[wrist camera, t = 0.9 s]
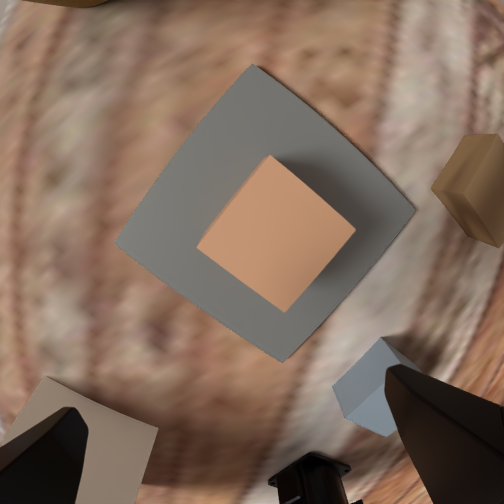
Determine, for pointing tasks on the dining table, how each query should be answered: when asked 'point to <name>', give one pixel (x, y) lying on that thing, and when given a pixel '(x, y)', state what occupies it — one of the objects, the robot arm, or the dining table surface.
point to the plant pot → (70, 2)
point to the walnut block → (475, 187)
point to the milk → (95, 443)
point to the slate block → (370, 388)
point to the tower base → (218, 177)
